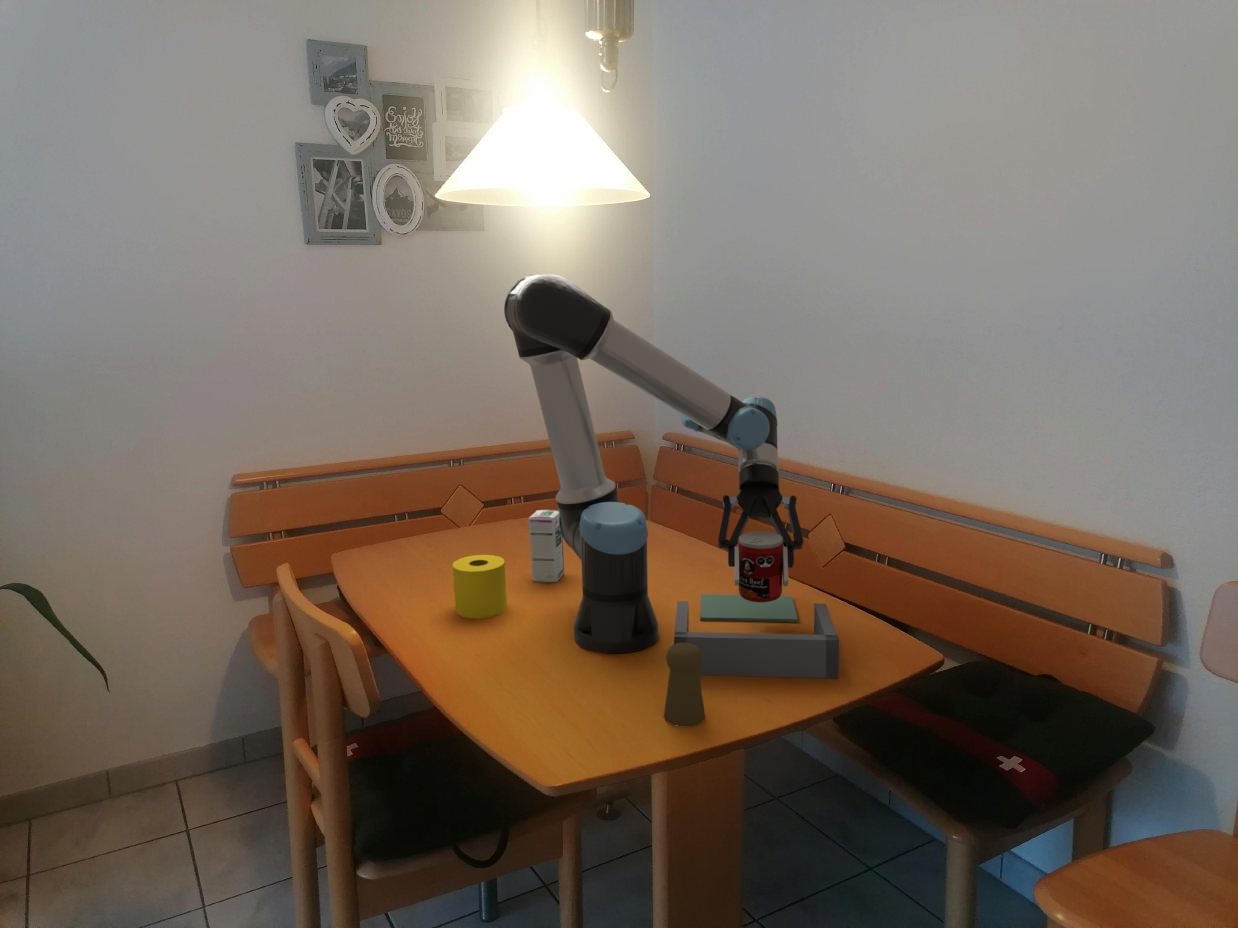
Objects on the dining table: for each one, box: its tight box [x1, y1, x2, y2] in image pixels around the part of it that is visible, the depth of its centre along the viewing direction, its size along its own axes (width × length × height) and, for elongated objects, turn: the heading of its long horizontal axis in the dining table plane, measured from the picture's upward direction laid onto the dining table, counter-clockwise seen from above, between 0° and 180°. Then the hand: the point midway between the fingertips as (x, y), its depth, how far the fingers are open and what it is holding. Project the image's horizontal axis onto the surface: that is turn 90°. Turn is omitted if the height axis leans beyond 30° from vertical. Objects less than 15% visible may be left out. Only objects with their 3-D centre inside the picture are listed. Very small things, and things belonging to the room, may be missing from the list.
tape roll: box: [452, 554, 508, 619], centre depth 167 cm, size 10×10×9 cm
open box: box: [673, 600, 840, 679], centre depth 143 cm, size 26×16×6 cm, turn 84°
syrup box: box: [528, 509, 565, 583], centre depth 183 cm, size 6×6×14 cm
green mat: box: [699, 593, 799, 623], centre depth 164 cm, size 18×12×1 cm, turn 84°
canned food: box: [738, 530, 784, 602], centre depth 154 cm, size 8×8×11 cm
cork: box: [663, 643, 706, 727], centre depth 123 cm, size 6×6×11 cm
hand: (761, 582), depth 151 cm, fingers closed on canned food, 8 cm apart
